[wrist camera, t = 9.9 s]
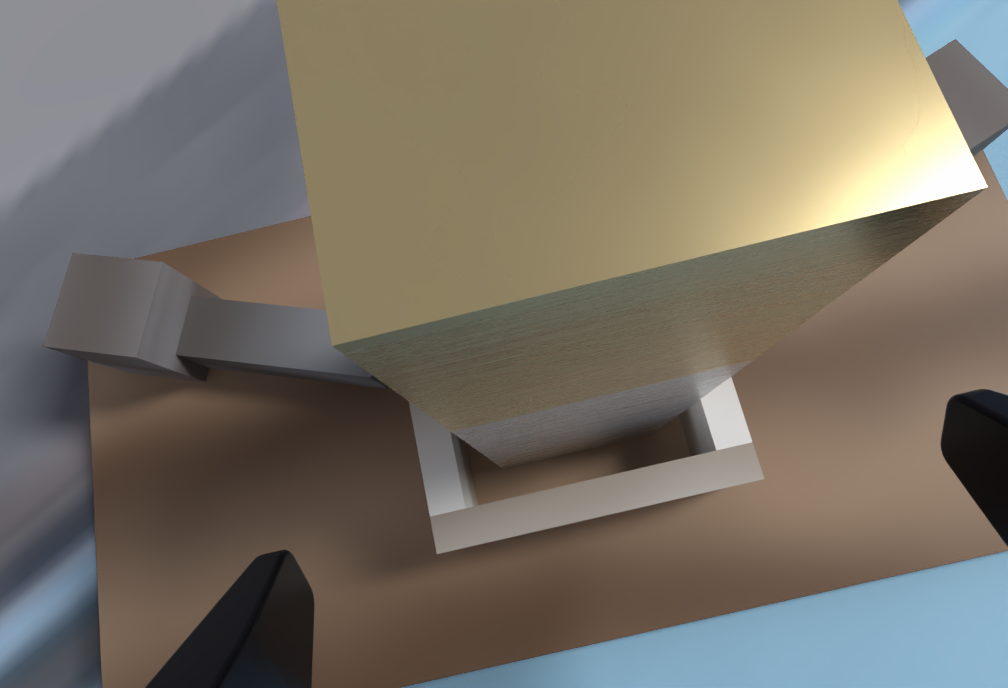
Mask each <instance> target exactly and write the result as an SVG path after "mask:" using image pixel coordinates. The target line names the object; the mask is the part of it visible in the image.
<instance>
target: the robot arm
mask: <svg viewBox="0 0 1008 688" xmlns="http://www.w3.org/2000/svg"><path fill="white" fill-rule="evenodd" d="M940 445H941V451H942V455H943V457H944V459H945V461H946V462H947V464H948V465H949V467H950V468H951V469H952V471H953V472H954V473H955V475H956V476H957V478H958V479H959V480H960V482H961V483H962V485H963V486H964V487H965V489H966V490H967V492H968V493H969V494H970V496H971V497H972V498H973V500H974V501H975V503H976V504H977V505H978V507H979V508H980V510H981V511H982V512H983V514H984V515H985V516H986V518H987V519H988V521H989V522H990V523H991V525H992V526H993V528H994V529H995V530H996V532H997V533H998V535H999V536H1000V537H1001V539H1002V540H1003V541H1004V543H1005V544H1006V545H1007V547H1008V395H1006V394H1003V393H999V392H996V391H992V390H989V389H978V390H973V391H969V392H965V393H960V394H956V395H954V396H952V397H951V398H950V399H949V401H948V402H947V406H946V411H945V417H944V423H943V429H942V435H941V441H940ZM314 609H315V603H314V595H313V592H312V589H311V586H310V584H309V583H308V581H307V579H306V577H305V575H304V573H303V572H302V570H301V568H300V566H299V564H298V562H297V561H296V559H295V557H294V556H293V554H292V553H291V552H290V551H288V550H279V551H275V552H271V553H266V554H262V555H260V556H258V557H256V558H255V559H254V560H253V561H252V562H251V564H250V565H249V566H248V567H247V568H246V569H245V571H244V572H243V573H242V574H241V575H240V576H239V578H238V579H237V580H236V581H235V582H234V583H233V585H232V586H231V587H230V588H229V589H228V591H227V592H226V593H225V594H224V595H223V596H222V598H221V599H220V600H219V601H218V602H217V603H216V605H215V606H214V607H213V608H212V609H211V610H210V612H209V613H208V614H207V615H206V616H205V618H204V619H203V620H202V621H201V622H200V623H199V625H198V626H197V627H196V628H195V629H194V630H193V632H192V633H191V634H190V635H189V636H188V637H187V639H186V640H185V641H184V642H183V643H182V644H181V646H180V647H179V648H178V649H177V650H176V652H175V653H174V654H173V655H172V656H171V657H170V659H169V660H168V661H167V662H166V663H165V664H164V666H163V667H162V668H161V669H160V670H159V671H158V673H157V674H156V675H155V676H154V677H153V678H152V680H151V681H150V682H149V683H148V684H147V686H146V687H145V688H312V664H313V636H314Z"/></svg>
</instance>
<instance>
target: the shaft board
mask: <svg viewBox="0 0 1008 688" xmlns="http://www.w3.org/2000/svg"><path fill="white" fill-rule="evenodd" d="M925 59H926V61H927V63H928V65H929V67H930V69H931V71H932V73H933V75H934V77H935V79H936V81H937V83H938V85H939V88H940V90H941V92H942V94H943V96H944V98H945V100H946V102H947V104H948V106H949V108H950V110H951V112H952V114H953V116H954V118H955V121H956V123H957V125H958V127H959V129H960V131H961V133H962V135H963V137H964V139H965V141H966V143H967V145H968V147H969V149H970V152H971V154H972V156H973V158H974V160H975V162H976V164H977V166H978V168H979V170H980V172H981V174H982V176H983V178H984V180H985V183H986V185H987V188H986V189H984V190H983V191H982V192H980V193H979V194H978V195H976V196H975V197H974V198H972V199H971V200H970V201H968V202H967V203H966V204H964V205H963V206H961V207H960V208H959V209H957V210H956V211H955V212H953V213H952V214H951V215H949V216H948V217H947V218H945V219H944V220H942V221H941V222H940V223H938V224H937V225H936V226H934V227H933V228H932V229H930V230H929V231H928V232H926V233H925V234H924V235H922V236H921V237H919V238H918V239H917V240H915V241H914V242H913V243H911V244H910V245H909V246H907V247H906V248H905V249H903V250H902V251H901V252H899V253H898V254H896V255H895V256H894V257H892V258H891V259H890V260H888V261H887V262H886V263H884V264H883V265H882V266H880V267H879V268H877V269H876V270H875V271H873V272H872V273H871V274H869V275H868V276H867V277H865V278H864V279H863V280H861V281H860V282H859V283H857V284H856V285H854V286H853V287H852V288H850V289H849V290H848V291H846V292H845V293H844V294H842V295H841V296H840V297H838V298H837V299H835V300H834V301H833V302H831V303H830V304H829V305H827V306H826V307H825V308H823V309H822V310H821V311H819V312H818V313H817V314H815V315H814V316H812V317H811V318H810V319H808V320H807V321H806V322H804V323H803V324H802V325H800V326H799V327H798V328H796V329H795V330H793V331H792V332H791V333H789V334H788V335H787V336H785V337H784V338H783V339H781V340H780V341H779V342H777V343H776V344H775V345H773V346H772V347H770V348H769V349H768V350H766V351H765V352H764V353H762V354H761V355H760V356H758V357H757V358H756V359H754V360H753V361H752V362H750V363H749V364H747V365H746V366H745V367H743V368H742V369H741V370H739V371H738V372H737V373H735V374H734V375H733V376H731V377H730V378H728V379H727V380H726V381H724V382H723V383H722V384H720V385H719V386H718V387H716V388H715V389H714V390H712V391H711V392H710V393H708V394H707V395H705V396H704V397H703V398H701V399H700V400H699V401H697V402H696V403H695V404H693V405H692V406H691V407H689V408H688V409H686V410H685V411H684V412H682V413H681V414H680V415H678V416H677V417H676V418H674V419H673V420H672V421H670V422H669V423H668V424H666V425H665V426H663V427H662V428H661V429H659V430H658V431H657V432H655V433H654V434H650V435H646V436H642V437H638V438H634V439H629V440H625V441H621V442H617V443H612V444H608V445H604V446H600V447H596V448H591V449H587V450H583V451H579V452H574V453H570V454H566V455H562V456H558V457H553V458H549V459H545V460H541V461H537V462H532V463H528V464H524V465H520V466H515V467H511V468H507V469H502V468H501V467H500V466H498V465H497V464H496V463H494V462H493V461H491V460H490V459H489V458H487V457H486V456H484V455H483V454H482V453H480V452H479V451H477V450H476V449H475V448H473V447H472V446H470V445H469V444H468V443H466V442H465V441H463V440H462V439H461V438H459V437H458V436H457V435H455V434H454V433H452V432H451V431H450V430H448V429H447V428H445V427H444V426H443V425H441V424H440V423H438V422H437V421H436V420H434V419H433V418H431V417H430V416H429V415H427V414H426V413H424V412H423V411H422V410H420V409H419V408H417V407H416V406H415V405H413V404H412V403H411V402H409V401H408V400H406V399H405V398H404V397H402V396H401V395H399V394H398V393H397V392H395V391H394V390H392V389H391V388H390V387H388V386H387V385H385V384H384V383H383V382H381V381H380V380H378V379H377V378H376V377H374V376H373V375H372V374H370V373H369V372H367V371H366V370H365V369H363V368H362V367H360V366H359V365H358V364H356V363H355V362H353V361H352V360H351V359H349V358H348V357H346V356H345V355H344V354H342V353H341V352H339V351H338V350H337V349H335V348H334V347H333V346H332V345H331V338H330V332H329V326H328V319H327V313H326V307H325V300H324V294H323V288H322V282H321V275H320V269H319V263H318V256H317V250H316V244H315V238H314V231H313V225H312V219H311V216H309V217H305V218H301V219H296V220H292V221H288V222H284V223H280V224H276V225H272V226H267V227H263V228H259V229H255V230H251V231H247V232H243V233H238V234H234V235H230V236H226V237H222V238H218V239H214V240H209V241H205V242H201V243H197V244H193V245H189V246H185V247H181V248H176V249H172V250H168V251H164V252H160V253H156V254H152V255H147V256H143V257H139V258H135V259H128V258H118V257H108V256H98V255H87V254H77V253H72V257H71V260H70V263H69V266H68V269H67V272H66V276H65V279H64V282H63V285H62V288H61V291H60V295H59V298H58V301H57V304H56V307H55V310H54V314H53V317H52V320H51V323H50V326H49V329H48V332H47V336H46V339H45V342H44V345H43V347H46V348H49V349H53V350H56V351H59V352H62V353H65V354H69V355H72V356H75V357H78V358H81V359H85V360H87V362H88V384H89V407H90V429H91V451H92V473H93V495H94V517H95V539H96V561H97V583H98V606H99V628H100V650H101V672H102V688H145V687H146V686H147V684H148V683H149V682H150V681H151V680H152V678H153V677H154V676H155V675H156V674H157V673H158V671H159V670H160V669H161V668H162V667H163V666H164V664H165V663H166V662H167V661H168V660H169V659H170V657H171V656H172V655H173V654H174V653H175V652H176V650H177V649H178V648H179V647H180V646H181V644H182V643H183V642H184V641H185V640H186V639H187V637H188V636H189V635H190V634H191V633H192V632H193V630H194V629H195V628H196V627H197V626H198V625H199V623H200V622H201V621H202V620H203V619H204V618H205V616H206V615H207V614H208V613H209V612H210V610H211V609H212V608H213V607H214V606H215V605H216V603H217V602H218V601H219V600H220V599H221V598H222V596H223V595H224V594H225V593H226V592H227V591H228V589H229V588H230V587H231V586H232V585H233V583H234V582H235V581H236V580H237V579H238V578H239V576H240V575H241V574H242V573H243V572H244V571H245V569H246V568H247V567H248V566H249V565H250V564H251V562H252V561H253V560H254V559H255V558H256V557H258V556H260V555H262V554H266V553H271V552H275V551H279V550H288V551H290V552H291V553H292V554H293V556H294V557H295V559H296V561H297V562H298V564H299V566H300V568H301V570H302V572H303V573H304V575H305V577H306V579H307V581H308V583H309V584H310V586H311V589H312V592H313V595H314V603H315V609H314V636H313V664H312V688H400V687H404V686H409V685H413V684H418V683H422V682H427V681H431V680H436V679H440V678H444V677H449V676H453V675H458V674H462V673H467V672H471V671H475V670H480V669H484V668H489V667H493V666H498V665H502V664H507V663H511V662H515V661H520V660H524V659H529V658H533V657H538V656H542V655H546V654H551V653H555V652H560V651H564V650H569V649H573V648H578V647H582V646H586V645H591V644H595V643H600V642H604V641H609V640H613V639H617V638H622V637H626V636H631V635H635V634H640V633H644V632H648V631H653V630H657V629H662V628H666V627H671V626H675V625H680V624H684V623H688V622H693V621H697V620H702V619H706V618H711V617H715V616H719V615H724V614H728V613H733V612H737V611H742V610H746V609H751V608H755V607H759V606H764V605H768V604H773V603H777V602H782V601H786V600H790V599H795V598H799V597H804V596H808V595H813V594H817V593H822V592H826V591H830V590H835V589H839V588H844V587H848V586H853V585H857V584H861V583H866V582H870V581H875V580H879V579H884V578H888V577H892V576H897V575H901V574H906V573H910V572H915V571H919V570H924V569H928V568H932V567H937V566H941V565H946V564H950V563H955V562H959V561H963V560H968V559H972V558H977V557H981V556H986V555H990V554H995V553H999V552H1003V551H1008V547H1007V545H1006V544H1005V543H1004V541H1003V540H1002V539H1001V537H1000V536H999V535H998V533H997V532H996V530H995V529H994V528H993V526H992V525H991V523H990V522H989V521H988V519H987V518H986V516H985V515H984V514H983V512H982V511H981V510H980V508H979V507H978V505H977V504H976V503H975V501H974V500H973V498H972V497H971V496H970V494H969V493H968V492H967V490H966V489H965V487H964V486H963V485H962V483H961V482H960V480H959V479H958V478H957V476H956V475H955V473H954V472H953V471H952V469H951V468H950V467H949V465H948V464H947V462H946V461H945V459H944V457H943V455H942V451H941V445H940V441H941V435H942V429H943V423H944V417H945V411H946V406H947V402H948V401H949V399H950V398H951V397H952V396H954V395H956V394H960V393H965V392H969V391H973V390H978V389H989V390H992V391H996V392H999V393H1003V394H1006V395H1008V201H1007V199H1006V197H1005V195H1004V192H1003V190H1002V188H1001V186H1000V184H999V182H998V180H997V178H996V176H995V174H994V172H993V170H992V168H991V166H990V164H989V161H988V159H987V157H986V155H985V153H984V151H983V149H984V148H985V147H987V146H988V145H989V144H990V143H991V142H993V141H994V140H995V139H996V138H997V137H999V136H1000V135H1001V134H1002V133H1003V132H1005V131H1006V130H1007V129H1008V89H1007V88H1006V87H1005V86H1004V85H1003V84H1002V83H1001V82H1000V81H999V80H998V79H997V78H996V77H995V76H994V75H993V74H992V73H991V72H990V71H989V70H987V69H986V68H985V67H984V66H983V65H982V64H981V63H980V62H979V61H978V60H977V59H976V58H975V57H974V56H973V55H972V54H971V53H970V52H969V51H967V50H966V49H965V48H964V47H963V46H962V45H961V44H960V43H959V42H958V41H957V40H956V39H955V40H953V41H952V42H950V43H948V44H947V45H945V46H944V47H942V48H941V49H939V50H938V51H936V52H934V53H933V54H931V55H930V56H928V57H927V58H925Z"/></svg>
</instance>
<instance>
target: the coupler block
mask: <svg viewBox="0 0 1008 688" xmlns="http://www.w3.org/2000/svg"><path fill="white" fill-rule="evenodd" d="M277 5H278V11H279V17H280V23H281V30H282V36H283V42H284V49H285V55H286V61H287V68H288V74H289V80H290V86H291V93H292V99H293V105H294V112H295V118H296V124H297V130H298V137H299V143H300V149H301V156H302V162H303V168H304V175H305V181H306V187H307V193H308V200H309V206H310V212H311V219H312V225H313V231H314V238H315V244H316V250H317V256H318V263H319V269H320V275H321V282H322V288H323V294H324V300H325V307H326V313H327V319H328V326H329V332H330V338H331V345H332V346H333V347H334V348H335V349H337V350H338V351H339V352H341V353H342V354H344V355H345V356H346V357H348V358H349V359H351V360H352V361H353V362H355V363H356V364H358V365H359V366H360V367H362V368H363V369H365V370H366V371H367V372H369V373H370V374H372V375H373V376H374V377H376V378H377V379H378V380H380V381H381V382H383V383H384V384H385V385H387V386H388V387H390V388H391V389H392V390H394V391H395V392H397V393H398V394H399V395H401V396H402V397H404V398H405V399H406V400H408V401H409V402H411V403H412V404H413V405H415V406H416V407H417V408H419V409H420V410H422V411H423V412H424V413H426V414H427V415H429V416H430V417H431V418H433V419H434V420H436V421H437V422H438V423H440V424H441V425H443V426H444V427H445V428H447V429H448V430H450V431H451V432H452V433H454V434H455V435H457V436H458V437H459V438H461V439H462V440H463V441H465V442H466V443H468V444H469V445H470V446H472V447H473V448H475V449H476V450H477V451H479V452H480V453H482V454H483V455H484V456H486V457H487V458H489V459H490V460H491V461H493V462H494V463H496V464H497V465H498V466H500V467H501V468H502V469H507V468H511V467H515V466H520V465H524V464H528V463H532V462H537V461H541V460H545V459H549V458H553V457H558V456H562V455H566V454H570V453H574V452H579V451H583V450H587V449H591V448H596V447H600V446H604V445H608V444H612V443H617V442H621V441H625V440H629V439H634V438H638V437H642V436H646V435H650V434H654V433H655V432H657V431H658V430H659V429H661V428H662V427H663V426H665V425H666V424H668V423H669V422H670V421H672V420H673V419H674V418H676V417H677V416H678V415H680V414H681V413H682V412H684V411H685V410H686V409H688V408H689V407H691V406H692V405H693V404H695V403H696V402H697V401H699V400H700V399H701V398H703V397H704V396H705V395H707V394H708V393H710V392H711V391H712V390H714V389H715V388H716V387H718V386H719V385H720V384H722V383H723V382H724V381H726V380H727V379H728V378H730V377H731V376H733V375H734V374H735V373H737V372H738V371H739V370H741V369H742V368H743V367H745V366H746V365H747V364H749V363H750V362H752V361H753V360H754V359H756V358H757V357H758V356H760V355H761V354H762V353H764V352H765V351H766V350H768V349H769V348H770V347H772V346H773V345H775V344H776V343H777V342H779V341H780V340H781V339H783V338H784V337H785V336H787V335H788V334H789V333H791V332H792V331H793V330H795V329H796V328H798V327H799V326H800V325H802V324H803V323H804V322H806V321H807V320H808V319H810V318H811V317H812V316H814V315H815V314H817V313H818V312H819V311H821V310H822V309H823V308H825V307H826V306H827V305H829V304H830V303H831V302H833V301H834V300H835V299H837V298H838V297H840V296H841V295H842V294H844V293H845V292H846V291H848V290H849V289H850V288H852V287H853V286H854V285H856V284H857V283H859V282H860V281H861V280H863V279H864V278H865V277H867V276H868V275H869V274H871V273H872V272H873V271H875V270H876V269H877V268H879V267H880V266H882V265H883V264H884V263H886V262H887V261H888V260H890V259H891V258H892V257H894V256H895V255H896V254H898V253H899V252H901V251H902V250H903V249H905V248H906V247H907V246H909V245H910V244H911V243H913V242H914V241H915V240H917V239H918V238H919V237H921V236H922V235H924V234H925V233H926V232H928V231H929V230H930V229H932V228H933V227H934V226H936V225H937V224H938V223H940V222H941V221H942V220H944V219H945V218H947V217H948V216H949V215H951V214H952V213H953V212H955V211H956V210H957V209H959V208H960V207H961V206H963V205H964V204H966V203H967V202H968V201H970V200H971V199H972V198H974V197H975V196H976V195H978V194H979V193H980V192H982V191H983V190H984V189H986V188H987V185H986V183H985V180H984V178H983V176H982V174H981V172H980V170H979V168H978V166H977V164H976V162H975V160H974V158H973V156H972V154H971V152H970V149H969V147H968V145H967V143H966V141H965V139H964V137H963V135H962V133H961V131H960V129H959V127H958V125H957V123H956V121H955V118H954V116H953V114H952V112H951V110H950V108H949V106H948V104H947V102H946V100H945V98H944V96H943V94H942V92H941V90H940V88H939V85H938V83H937V81H936V79H935V77H934V75H933V73H932V71H931V69H930V67H929V65H928V63H927V61H926V59H925V57H924V54H923V52H922V50H921V48H920V46H919V44H918V42H917V40H916V38H915V36H914V34H913V32H912V30H911V28H910V26H909V23H908V21H907V19H906V17H905V15H904V13H903V11H902V9H901V7H900V5H899V3H898V1H897V0H277Z"/></svg>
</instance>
